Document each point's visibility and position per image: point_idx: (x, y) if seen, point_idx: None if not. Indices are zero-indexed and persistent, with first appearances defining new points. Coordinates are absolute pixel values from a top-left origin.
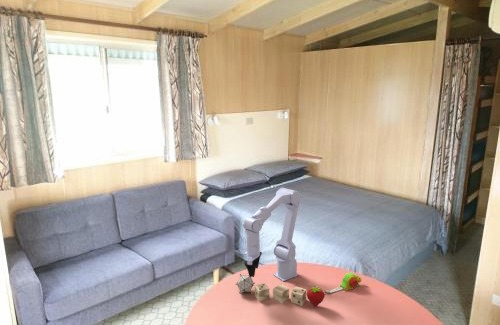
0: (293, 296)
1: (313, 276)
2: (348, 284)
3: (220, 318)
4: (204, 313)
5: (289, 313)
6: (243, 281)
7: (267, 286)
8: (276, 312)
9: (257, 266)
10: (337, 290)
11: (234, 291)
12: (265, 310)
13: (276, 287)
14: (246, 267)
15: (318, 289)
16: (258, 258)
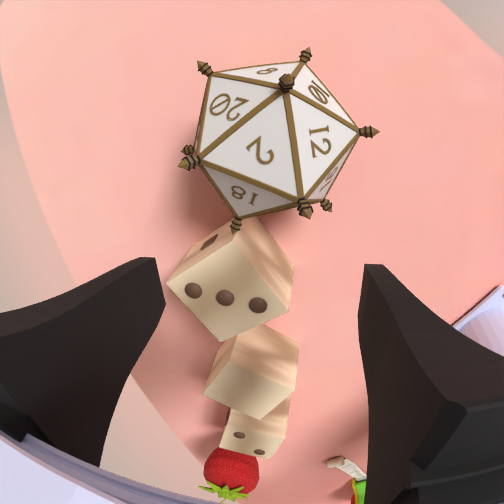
0: (228, 414)
1: None
2: (356, 497)
3: (17, 106)
4: (26, 19)
5: (162, 372)
6: (197, 147)
7: (244, 331)
8: None
9: (360, 333)
10: (347, 473)
11: (257, 49)
12: None
13: (249, 375)
14: (19, 310)
15: (226, 497)
16: (372, 446)
